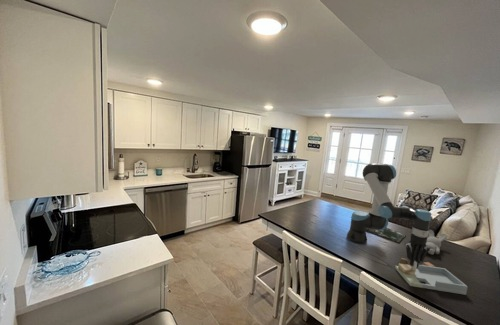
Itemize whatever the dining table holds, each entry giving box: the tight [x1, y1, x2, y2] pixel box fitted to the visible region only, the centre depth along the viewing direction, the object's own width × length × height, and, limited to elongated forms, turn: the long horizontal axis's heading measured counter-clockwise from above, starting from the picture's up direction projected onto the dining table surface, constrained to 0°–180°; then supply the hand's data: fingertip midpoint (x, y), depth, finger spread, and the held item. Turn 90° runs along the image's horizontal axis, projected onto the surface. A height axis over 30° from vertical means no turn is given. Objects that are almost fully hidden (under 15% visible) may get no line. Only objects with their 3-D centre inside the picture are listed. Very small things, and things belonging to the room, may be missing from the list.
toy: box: [422, 229, 448, 256], centre depth 160 cm, size 12×10×30 cm
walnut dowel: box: [399, 257, 409, 265], centre depth 134 cm, size 4×4×5 cm
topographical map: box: [366, 227, 407, 244], centre depth 187 cm, size 26×33×3 cm
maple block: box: [397, 263, 415, 275], centre depth 126 cm, size 6×6×3 cm
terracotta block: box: [422, 261, 436, 267], centre depth 132 cm, size 4×4×4 cm
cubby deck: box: [394, 264, 469, 296], centre depth 121 cm, size 28×16×5 cm, turn 81°
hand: (412, 270), depth 125 cm, fingers closed
